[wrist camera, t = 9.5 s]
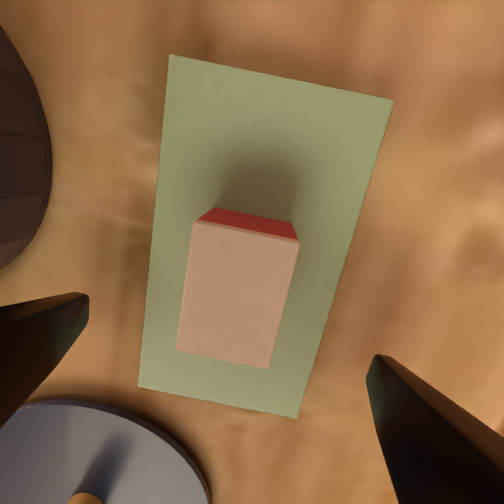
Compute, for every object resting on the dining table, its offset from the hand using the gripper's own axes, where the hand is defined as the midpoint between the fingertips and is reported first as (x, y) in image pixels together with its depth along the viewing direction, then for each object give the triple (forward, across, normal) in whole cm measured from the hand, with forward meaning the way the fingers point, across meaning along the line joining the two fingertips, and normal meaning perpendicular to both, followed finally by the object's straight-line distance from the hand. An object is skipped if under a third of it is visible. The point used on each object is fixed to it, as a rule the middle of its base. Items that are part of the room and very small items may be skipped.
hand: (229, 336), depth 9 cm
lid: (+7, +8, +21) cm, 24 cm away
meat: (+6, 0, 0) cm, 6 cm away
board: (+8, 0, 0) cm, 8 cm away
